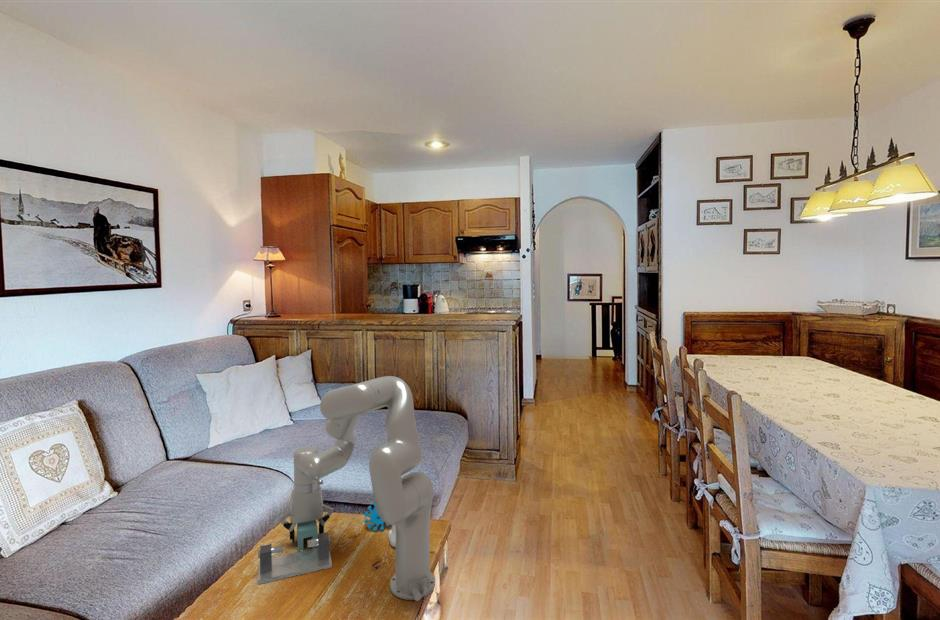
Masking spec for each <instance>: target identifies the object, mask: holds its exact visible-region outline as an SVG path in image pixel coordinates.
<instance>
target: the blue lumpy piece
mask: <svg viewBox="0 0 940 620" xmlns="http://www.w3.org/2000/svg"><path fill="white" fill-rule="evenodd" d="M372 504H373V506H374V507H373V509H372V505H369V506H367V510H368V511H370V514H369V513H368V511H365V512H364V514H363V516H364V517H369V519H368V518H364V523H365V524H367V523H368V524H367V528H368V530H370V529H373V531H374V532H378V529H380V531H385V527H384V523H385V522H384V521H383V520H382V519H381V518H380V516H379V514H378V512H377V509H376V505H375V501H374V502H373V503H372ZM369 523H371V524H369ZM375 525H376V526H375ZM380 525H381V526H380ZM373 526H374V527H373ZM379 526H380V528H378V527H379ZM385 526H386V527H389V526H390V525H389V524H386V523H385ZM372 527H373V528H372Z"/></svg>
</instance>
